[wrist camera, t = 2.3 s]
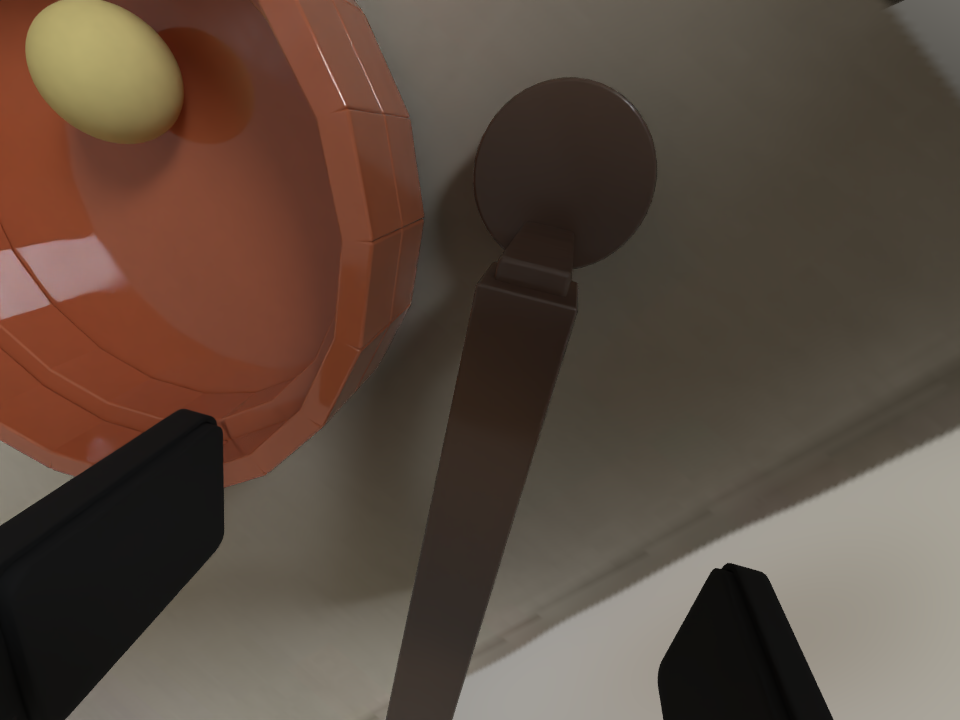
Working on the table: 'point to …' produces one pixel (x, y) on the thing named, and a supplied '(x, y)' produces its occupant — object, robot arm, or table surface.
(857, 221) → the table surface
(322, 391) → the bowl
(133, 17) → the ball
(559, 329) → the ladle
